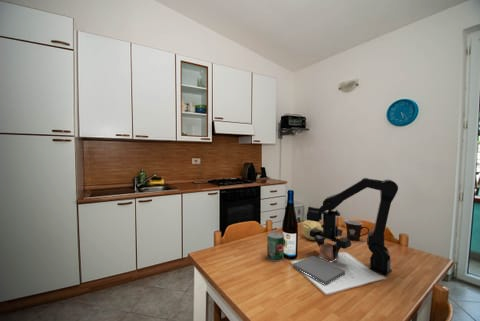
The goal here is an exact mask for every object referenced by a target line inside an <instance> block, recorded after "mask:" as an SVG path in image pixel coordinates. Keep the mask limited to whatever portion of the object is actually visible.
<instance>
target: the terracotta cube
mask: <svg viewBox="0 0 480 321" xmlns="http://www.w3.org/2000/svg"><path fill="white" fill-rule="evenodd" d="M333 245H334V244H332V243H329V242H324V244H321V245H320V248H319V257H318V258H320V257H322V258H324V259H326V260H328V261H327V262H329V261H333V260H335V259H337V258H338V259H339V253H338V254H337V256H336V258H334V256H333ZM322 258H321V259H322ZM324 259H323V260H324ZM338 259H337V260H338ZM326 260H325V261H326ZM335 261H336V260H335ZM333 262H334V261H333Z"/></svg>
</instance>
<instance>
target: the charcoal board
mask: <svg viewBox="0 0 480 321" xmlns="http://www.w3.org/2000/svg"><path fill="white" fill-rule="evenodd" d="M292 268H294V269H295V270H297V271H299V270H301V271H303V272H305V273H307V274H309V275H311V276H312V277H314V278H315V279H317V280H318V281H320V282H322V283H324V284H325V285H326V284H327V285H329V284H330V283H329V282H331V281H332V282H334V281H335V279H336V278H338V277H339V278H341V277H343V276H345V275H346V270H344V269H342V267H341V268H340V267H338V266H337V265H333V264H332V263H331V262H329V261H326V260H324V259H322V258H320V257H317V256H314V255H310V256H307V257H306V258H303V259H301V260H299V261H297V262H294V263H293V264H292ZM301 271H300V272H301ZM342 275H343V276H342ZM340 276H341V277H340ZM339 278H338V279H339ZM315 279H314V280H315ZM317 280H316V281H317ZM333 280H334V281H333ZM336 280H337V279H336ZM318 281H317V282H318ZM320 282H319V283H320ZM332 282H331V283H332ZM322 283H321V284H322ZM328 283H329V284H328ZM324 284H323V285H324ZM325 285H324V286H325ZM327 285H326V286H327Z"/></svg>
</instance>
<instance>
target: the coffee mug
mask: <svg viewBox="0 0 480 321" xmlns="http://www.w3.org/2000/svg"><path fill="white" fill-rule="evenodd" d="M345 226H346V228H345V230H346V237H347V238H346V239H348V240H350V241H351V242H359V241H361V240H360V239H361V237H363V236H365V235H368V231H369V232H370V229H369V227H367V226H363V223H362V222H361V221H357V220H351V219H350V220H349V219H348V220H345ZM364 228H365V229H367V232H366V233H364V234H361V232H362V230H363V229H364Z"/></svg>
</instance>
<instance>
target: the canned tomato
mask: <svg viewBox="0 0 480 321" xmlns="http://www.w3.org/2000/svg"><path fill="white" fill-rule="evenodd" d="M284 244H285V236H284V233H282V232H279V231H277V232H276V231H271V232H268V233H267V244H266V245H267V250H266V251H267V252H266V254H267V256H266V257H267V259H269V260H270V261H271V262H272V261H273V262H280V261H283V260H284V258H285V257H284V254H285V253H284V251H285V250H284V247H285V246H284Z"/></svg>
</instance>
